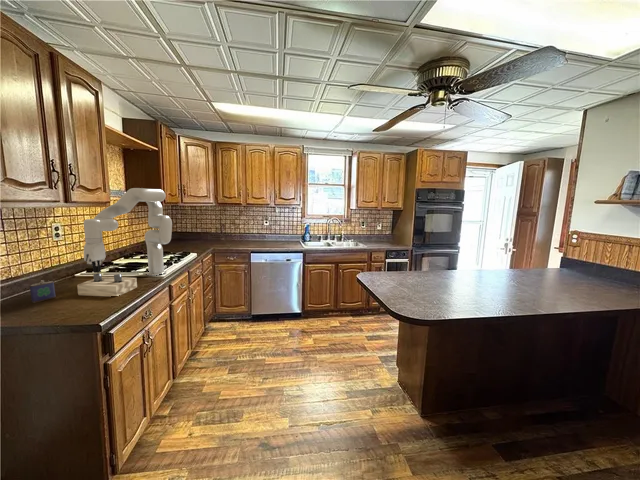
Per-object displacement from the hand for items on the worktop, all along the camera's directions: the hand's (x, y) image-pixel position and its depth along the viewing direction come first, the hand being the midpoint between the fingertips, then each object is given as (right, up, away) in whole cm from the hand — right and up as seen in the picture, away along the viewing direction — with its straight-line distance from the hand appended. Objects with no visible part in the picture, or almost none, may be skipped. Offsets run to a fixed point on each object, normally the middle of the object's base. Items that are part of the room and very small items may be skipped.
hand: (97, 272), depth 157 cm
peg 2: (+12, -7, +1) cm, 14 cm away
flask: (-17, -13, -14) cm, 25 cm away
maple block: (+6, -11, +2) cm, 13 cm away
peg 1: (0, -7, +1) cm, 7 cm away
